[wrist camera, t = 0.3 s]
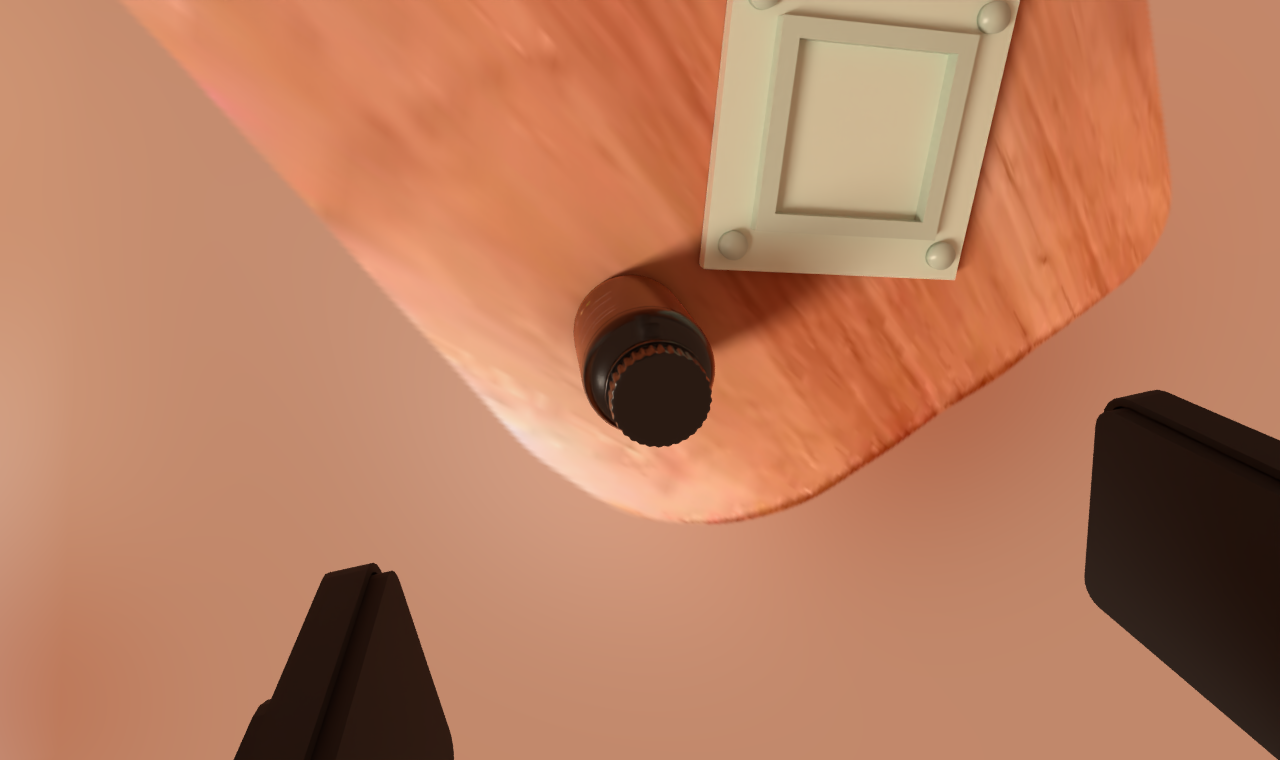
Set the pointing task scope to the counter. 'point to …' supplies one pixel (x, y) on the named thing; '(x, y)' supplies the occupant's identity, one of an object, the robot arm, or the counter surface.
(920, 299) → the counter surface
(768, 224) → the seating plate
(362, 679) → the robot arm
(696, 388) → the supplement bottle
